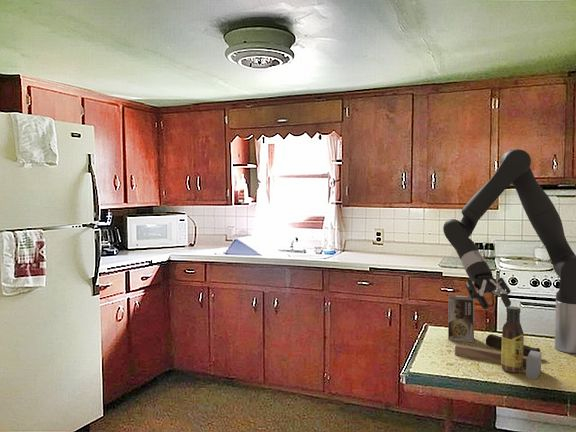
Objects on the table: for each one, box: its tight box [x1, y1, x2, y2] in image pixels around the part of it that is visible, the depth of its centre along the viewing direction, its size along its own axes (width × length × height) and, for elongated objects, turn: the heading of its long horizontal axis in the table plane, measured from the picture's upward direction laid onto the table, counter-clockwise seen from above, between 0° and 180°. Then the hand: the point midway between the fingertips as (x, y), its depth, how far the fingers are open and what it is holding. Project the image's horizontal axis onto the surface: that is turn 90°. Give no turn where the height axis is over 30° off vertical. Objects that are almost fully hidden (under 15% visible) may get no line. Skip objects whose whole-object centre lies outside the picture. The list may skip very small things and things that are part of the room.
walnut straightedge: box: [454, 343, 527, 369], centre depth 161 cm, size 2×23×3 cm, turn 55°
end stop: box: [525, 351, 542, 380], centre depth 149 cm, size 8×3×6 cm, turn 145°
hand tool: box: [485, 333, 541, 356], centre depth 169 cm, size 19×4×5 cm, turn 34°
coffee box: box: [447, 294, 475, 343], centre depth 183 cm, size 9×6×16 cm
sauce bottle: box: [500, 305, 525, 373], centre depth 152 cm, size 6×6×20 cm
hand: (497, 306), depth 159 cm, fingers open, 8 cm apart
